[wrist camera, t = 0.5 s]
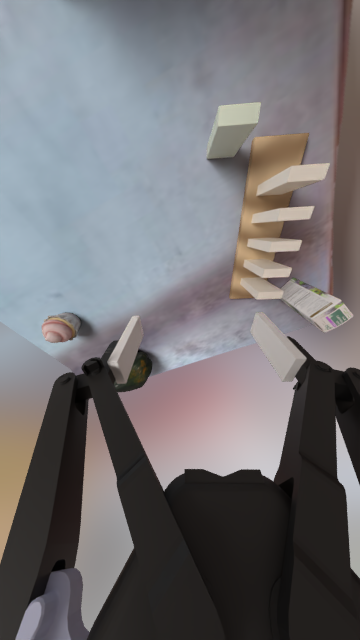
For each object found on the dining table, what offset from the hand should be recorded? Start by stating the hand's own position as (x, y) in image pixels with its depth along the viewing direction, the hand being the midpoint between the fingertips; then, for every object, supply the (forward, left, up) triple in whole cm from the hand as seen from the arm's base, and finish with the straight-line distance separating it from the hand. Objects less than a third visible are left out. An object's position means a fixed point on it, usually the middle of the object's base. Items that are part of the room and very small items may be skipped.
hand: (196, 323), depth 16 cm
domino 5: (-2, +16, -24) cm, 29 cm away
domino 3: (-10, +16, -24) cm, 31 cm away
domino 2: (-15, +16, -24) cm, 33 cm away
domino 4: (-6, +16, -24) cm, 29 cm away
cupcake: (+14, -39, -25) cm, 48 cm away
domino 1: (-21, +6, -25) cm, 33 cm away
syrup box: (+7, +28, -25) cm, 39 cm away
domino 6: (+3, +16, -24) cm, 29 cm away
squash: (+32, -22, -25) cm, 46 cm away
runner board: (-7, +16, -25) cm, 31 cm away
